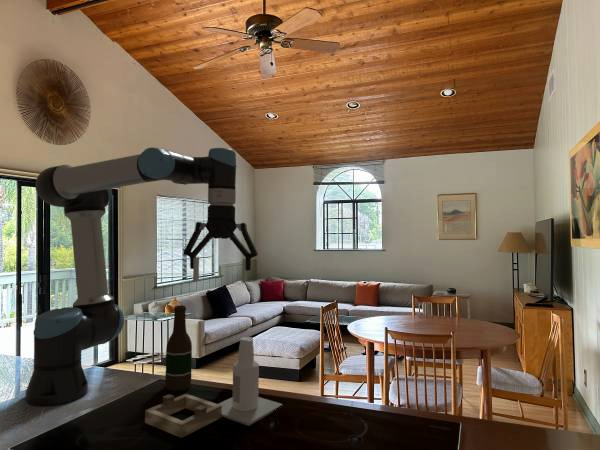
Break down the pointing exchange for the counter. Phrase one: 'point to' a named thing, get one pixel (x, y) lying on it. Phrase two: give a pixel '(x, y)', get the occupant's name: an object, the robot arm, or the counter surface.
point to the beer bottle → (179, 354)
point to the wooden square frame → (160, 413)
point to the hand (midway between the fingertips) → (220, 281)
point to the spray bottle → (245, 378)
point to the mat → (248, 416)
